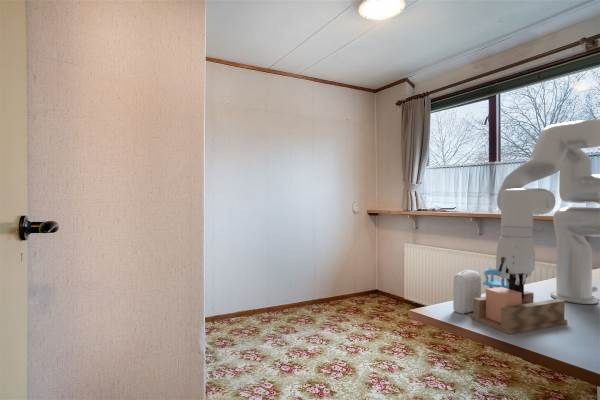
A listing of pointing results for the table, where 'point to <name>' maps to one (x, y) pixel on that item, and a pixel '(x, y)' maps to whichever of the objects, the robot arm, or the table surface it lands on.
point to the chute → (522, 314)
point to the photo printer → (466, 290)
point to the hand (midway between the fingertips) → (516, 297)
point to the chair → (493, 282)
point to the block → (500, 301)
